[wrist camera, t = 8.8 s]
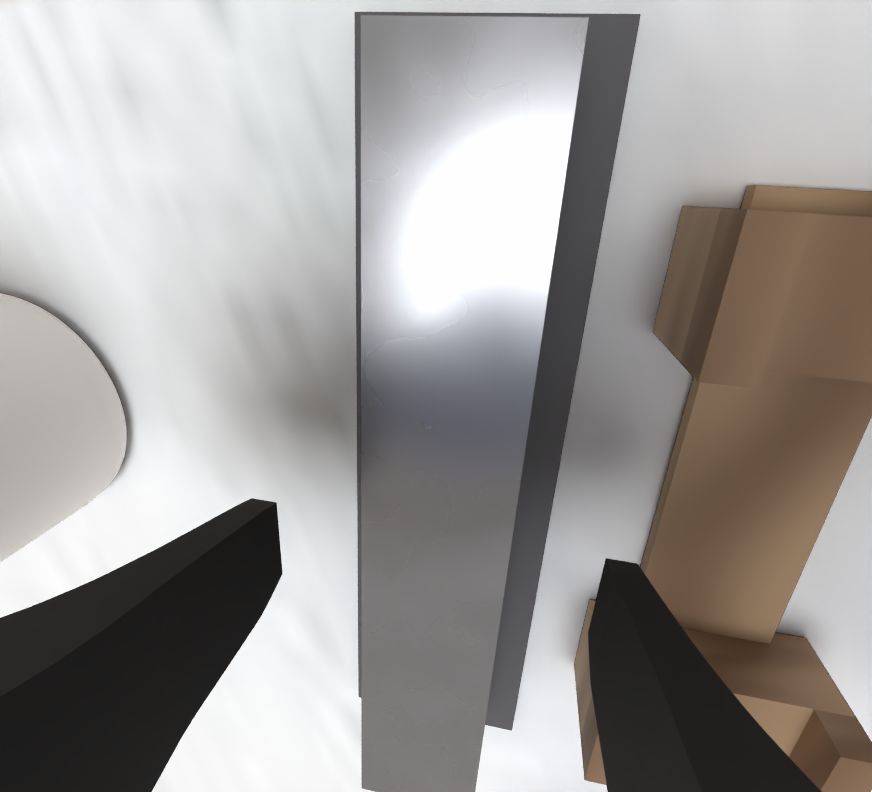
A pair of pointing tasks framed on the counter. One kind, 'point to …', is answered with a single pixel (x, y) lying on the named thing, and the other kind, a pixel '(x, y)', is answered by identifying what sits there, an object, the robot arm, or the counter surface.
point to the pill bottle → (51, 424)
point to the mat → (561, 331)
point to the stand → (761, 454)
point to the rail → (449, 360)
